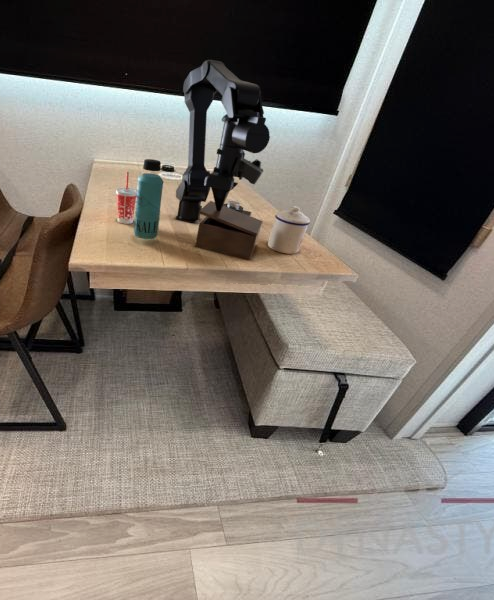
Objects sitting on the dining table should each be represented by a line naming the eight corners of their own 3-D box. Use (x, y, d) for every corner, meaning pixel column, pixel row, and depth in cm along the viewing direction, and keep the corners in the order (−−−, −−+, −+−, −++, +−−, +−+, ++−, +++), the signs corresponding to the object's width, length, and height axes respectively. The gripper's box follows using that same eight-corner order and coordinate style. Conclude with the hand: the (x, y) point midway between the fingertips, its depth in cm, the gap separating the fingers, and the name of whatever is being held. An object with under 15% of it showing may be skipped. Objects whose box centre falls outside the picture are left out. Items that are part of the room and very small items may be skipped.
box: (195, 246, 87) (199, 223, 84) (206, 233, 96) (210, 212, 93) (249, 260, 83) (256, 236, 80) (255, 245, 92) (261, 223, 89)
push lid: (225, 207, 109) (226, 202, 108) (228, 205, 112) (229, 200, 111) (237, 210, 108) (238, 205, 107) (239, 207, 111) (240, 202, 110)
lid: (198, 213, 82) (199, 210, 82) (209, 203, 92) (210, 200, 91) (256, 236, 80) (257, 233, 79) (261, 223, 89) (262, 221, 89)
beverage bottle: (145, 233, 91) (152, 156, 80) (162, 241, 87) (172, 162, 76) (127, 238, 87) (132, 157, 76) (144, 247, 83) (152, 163, 72)
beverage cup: (136, 219, 100) (140, 171, 93) (133, 225, 95) (137, 175, 88) (117, 216, 100) (119, 168, 93) (112, 222, 95) (114, 172, 88)
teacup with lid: (304, 255, 90) (320, 214, 83) (273, 253, 89) (286, 211, 82) (287, 239, 100) (300, 200, 94) (259, 236, 99) (270, 198, 92)
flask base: (209, 218, 109) (212, 206, 107) (216, 210, 117) (218, 199, 115) (245, 226, 106) (248, 213, 104) (249, 218, 114) (252, 206, 112)
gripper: (261, 155, 68) (243, 227, 76) (270, 147, 83) (254, 208, 91) (210, 147, 71) (197, 217, 79) (227, 141, 86) (215, 200, 94)
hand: (218, 210), depth 86 cm, fingers closed, pressing on lid
